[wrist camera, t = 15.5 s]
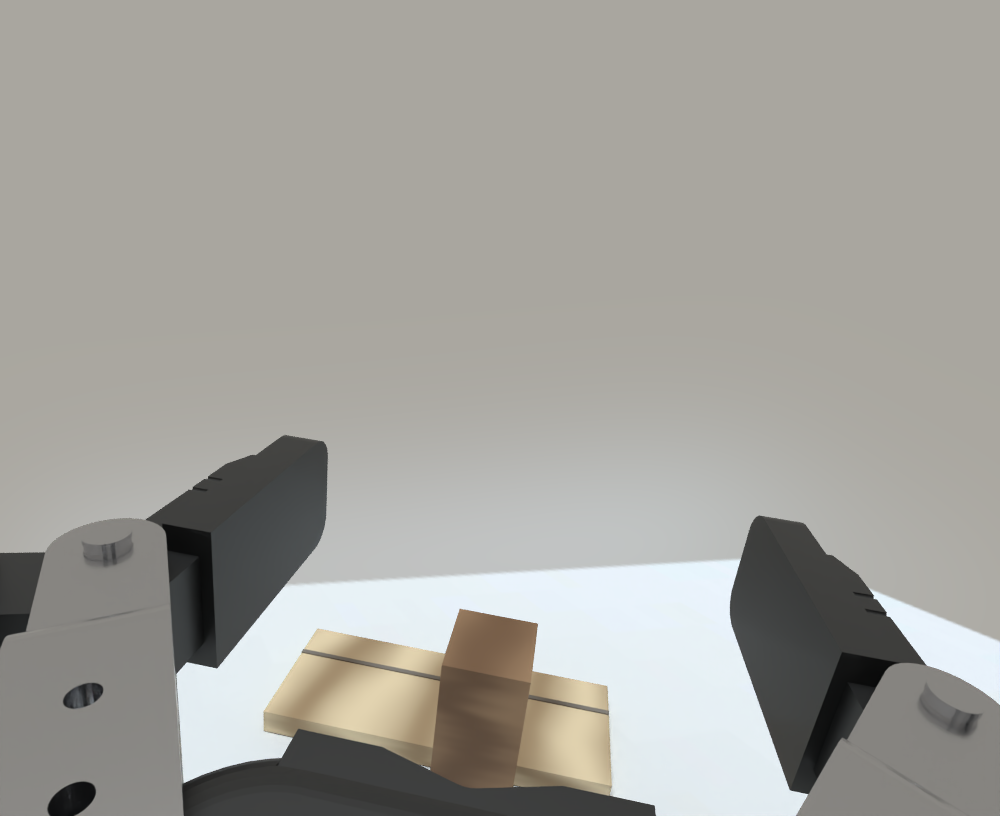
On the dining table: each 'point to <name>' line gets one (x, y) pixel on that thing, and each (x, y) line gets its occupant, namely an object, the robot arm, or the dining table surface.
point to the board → (413, 706)
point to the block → (483, 700)
